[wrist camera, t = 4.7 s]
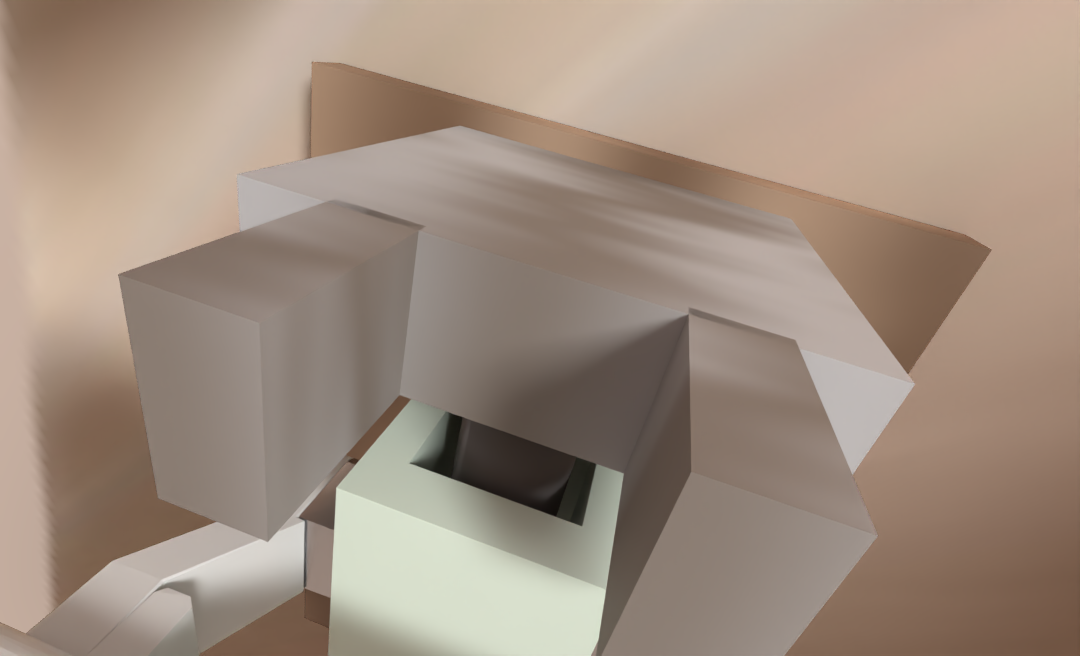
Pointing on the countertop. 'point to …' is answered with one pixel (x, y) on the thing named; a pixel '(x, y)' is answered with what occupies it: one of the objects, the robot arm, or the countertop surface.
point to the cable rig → (551, 347)
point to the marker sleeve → (463, 554)
